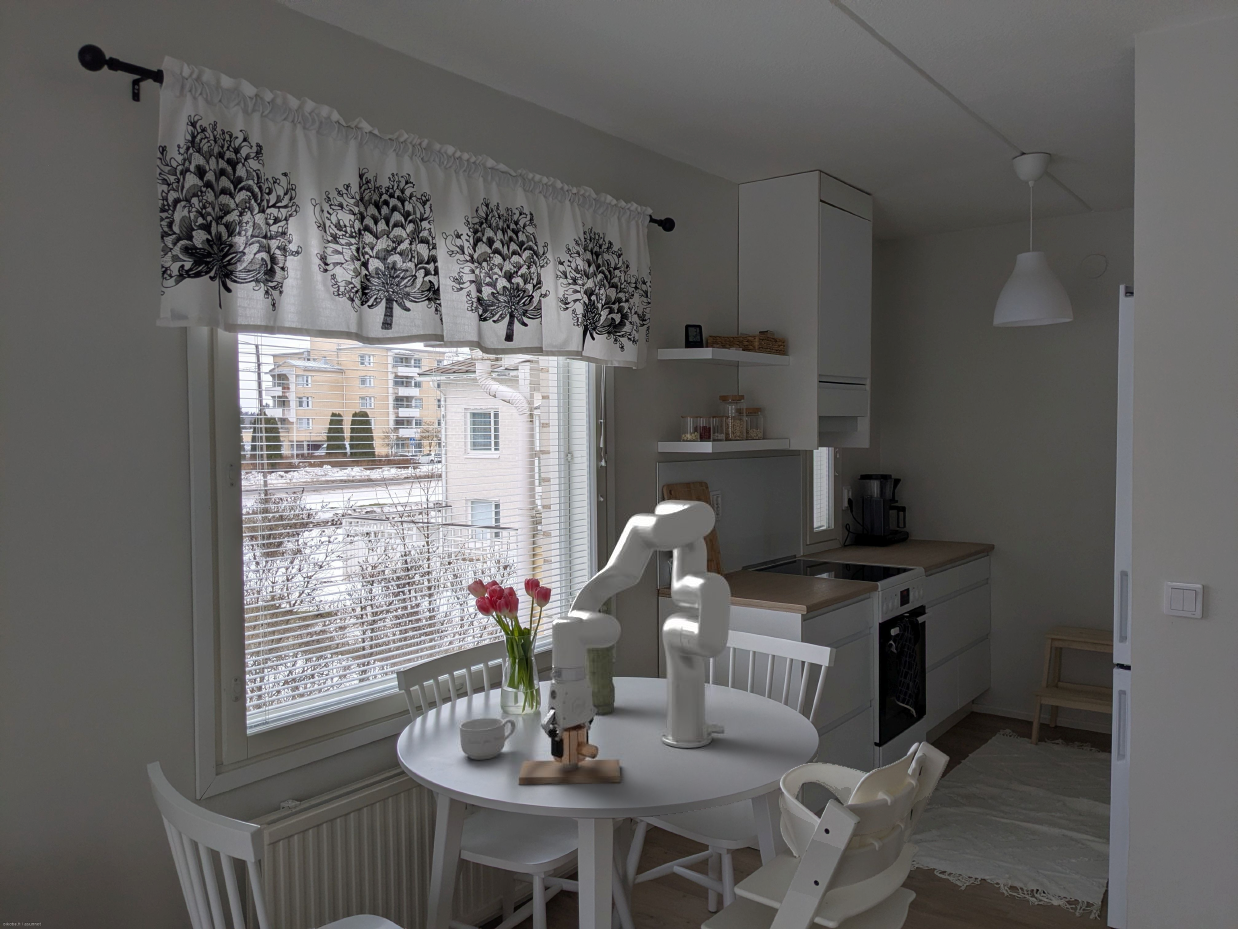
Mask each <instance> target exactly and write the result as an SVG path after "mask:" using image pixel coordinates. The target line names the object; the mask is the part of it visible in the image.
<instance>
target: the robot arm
mask: <svg viewBox="0 0 1238 929" xmlns="http://www.w3.org/2000/svg"><path fill="white" fill-rule="evenodd" d="M715 522H716V514H715V511H714V509H713V508H712V507H711V506H710V504H708V503H706V502H704V501H697V500H685V499H684V500H681V499H669V500H668V499H667V500H663V501H660V502H659V503H657V505H656V506H655V509H654V513H650V512H649V513H647V512H642V513H637V514H634V515H632V516H631V517H630V518H629V520H628V521H627V522H626V525H625V526H624V529H623V531H622V533H621V535H620V537H619V538H618V541H617V543H616V545H615V548H614V549H613V551H612V553H611V556H610V557H609V559H608V561H607V564H606V565H605V566H604V567H603V568H602V569H601V570H600V571H598V572H597V573H596V574H595V575H594V576H593V577H592V578H591V579H590V580H588V582H586V583H585V584H584V585H583V587H582V588H581V589H580V591H579V592H578V593H577V594H576V597H575V599H574V601H573V603H572V605H571V607H570V609H569V610H568V613H567V616H566V615H565V616H559V617H556V618H555V619H554V620H553V621H552V624H551V633H552V634H551V640H552V645H551V647H552V650H551V652H552V653H551V654H552V655H551V656H552V658H551V659H552V663H551V665H552V671H551V672H550V673H549V677H550V678H551V679H552V680H550V685H549V690H548V699H547V700H548V702H547V715H546V716H545V717H544V718H543V720H542V721H541V723H540V727H541V729H542V730H543V731H544V733H545V735H547V737H548V739H550V755H551V756H552V757H553V756H554V757H557V758H562V757H563V741H562V740H561V739H560V738H561V736H562V733H563V730H564V729H567V728H570V727H573V726H577V725H580V724H585V725H586V743H589V738H590V736H589V732H590V730H591V728H592V727H591V725H592V723H593V722H594V718H595V716H596V715H595V714H596V712H597V708H595V707H594V706H593V702H592V691H591V685H590V681H589V677H588V676H586V649H587V648H605V647H609V646H611V645H613V644H614V645H615V643H617V642H618V640H619V639H620V636H621V633H622V632H621V631H622V629H621V628H622V627H621V624H620V622H619V621H618V619H616V618H615V617H614V616H612V615H611V616H610V615H607V614H603V613H599V612H598V610H599V609H600V607H601V606H602V604H603V603H604V602H605V601H606V600H607V599H608V598H609V597H611V598H612V596H614V595H615V594H617V593H619V592H623V591H624V590H627V589H629V588H631V587H633V586H635V585H636V584H638V583H639V582H640V581H641V578H642V576H643V574H644V571H645V569H646V566H647V564H648V563H649V561H650V558H651V556H652V554H653V553H654V550H655V551H663V552H668V551H672V567H671V568H672V569H671V583H670V584H671V586H670V594H671V600H672V601H673V603H674V604H676V606H677V605H678V606H680V607H682V608H685V609H690V610H695V611H698V614H693V613H688V612H676V613H673V614H670V615H669V616H668V617H667V618H666V619H665V621H664V623H663V625H662V631H661V637H662V644H663V648H664V652H665V653H664V655H665V660H666V662H665V663H666V666H665V667H666V730H665V731H662V732H661V734H660V740H661V741H662V743H663V744H665V745H667V746H671V747H673V748H674V747H675V748H680V749H681V748H682V749H687V748H688V749H691V748H699V747H705V746H707V745H709V744H710V743H711V742H712V737H713V736H712V734H717V735H719V734H720V735H721V734H725V725H719V723H709V722H707V719H706V684H705V682H706V681H705V680H706V669H705V664H704V660H703V658H707V659H715V658H718V657H720V656H721V655H722V654H723V653H724V651H725V650H726V647H727V644H728V641H729V634H730V632H729V631H730V616H731V606H732V605H731V603H732V602H731V601H732V600H731V599H732V596H731V594H732V593H731V589H730V585H729V583H728V581H727V580H726V579H725V578H724V576H722V575H721V574H718V573H716V572H708V570H707V566H708V565H707V564H708V563H707V562H708V556H707V555H708V549H707V545H706V542H705V540H704V537H706V536H708V535H709V533H710V532H711V531H712V530H713V528H714V526H715V524H716V523H715ZM556 728H558V730H557V733H556V732H555V730H556ZM589 744H590V743H589Z"/></svg>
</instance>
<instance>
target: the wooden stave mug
mask: <svg viewBox="0 0 1238 929" xmlns="http://www.w3.org/2000/svg"><path fill="white" fill-rule="evenodd" d="M557 730H558V728H556V730H555V732H556V733H557ZM560 739H561V740H562V741H563V757H562V758H557V757H554V756H552V758H553V761H556V762H559V763H565V764H569V763H570V764H573V763H579V762H582V761H584V760H587V758H589V759H590V760H596V758H597V756H598V755H599V751H600V750H599V747H598V746H597V745H594V744H591V743H586V725H585V724H580V725H577V726H573V727H570V728H567V729H564V730H563V733H562V736H561V738H560Z"/></svg>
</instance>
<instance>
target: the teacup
mask: <svg viewBox="0 0 1238 929" xmlns="http://www.w3.org/2000/svg"><path fill="white" fill-rule="evenodd" d="M507 724H510V729H508V731H507V733H506V732H505V728H506V726H507ZM515 730H516V722H515V720H514V719H512V718H510V717H509V718H504V719H502V718H500V717H499V718H498V717H491V716H490V717H478V718H472V719H469V720H465V721H464V722H462V723H460V724H459V733H460V734H459V736H460V746H461V751H462V752H463V754H464V755H466V756H467V757H469V758H470V759H472V760H477V761H478V760H479V761H480V760H481V761H483V760H489V759H493V758H496V757H497V756H498V755H499V753H501V751H502V750H503V749H504V748H505V745H506V744H505V743H506V742H507V740H508V739H509V738H511V736H512V735H513V734H514V733H515Z"/></svg>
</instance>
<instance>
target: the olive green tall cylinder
mask: <svg viewBox="0 0 1238 929" xmlns="http://www.w3.org/2000/svg"><path fill="white" fill-rule="evenodd" d="M598 612H599V613H603V614H607V615H610V616H612V615H611V614H612V596H611V597H609V598H608V599H607V600H606V601H605V602H604V603H603V604H602V606H601V607H600V609H599V610H598ZM614 648H615V643H614V644H613V645H611V646H609V647H605V648H587V649H586V676H588V677H589V681H590V685H591V691H592V702H593V706H594V707H595V708H597V712H596V714H595V716H606V715H609V714H613V713H614V712H615V702H616V696H615V695H616V692H615V688H616V687H615V684H614V678H613V674H614V673H613V672H614V671H613V666H614V665H613V650H614Z"/></svg>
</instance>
